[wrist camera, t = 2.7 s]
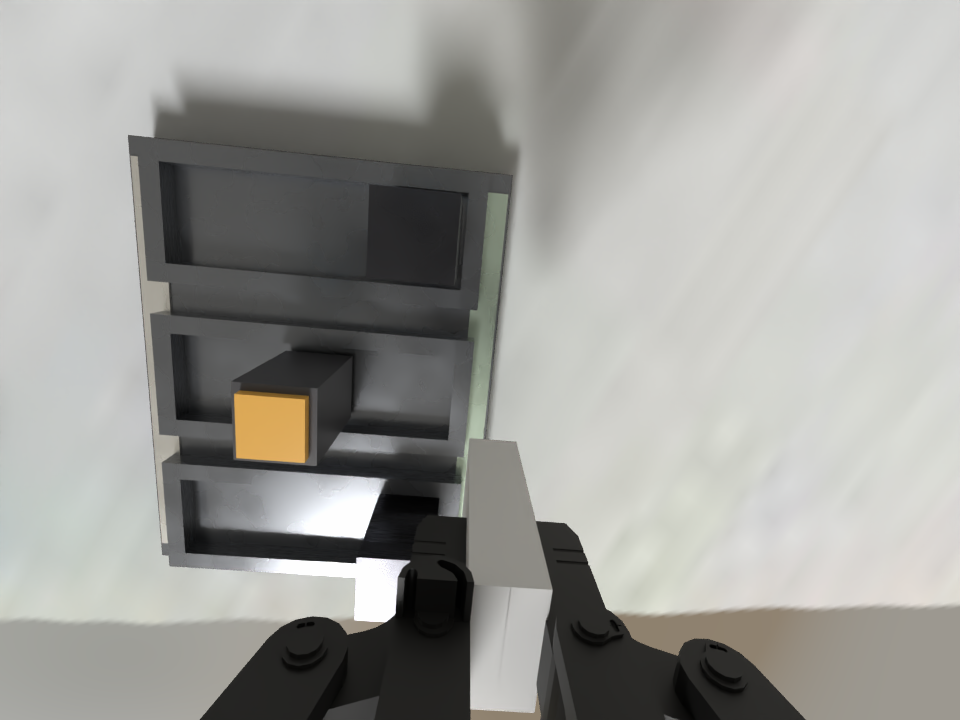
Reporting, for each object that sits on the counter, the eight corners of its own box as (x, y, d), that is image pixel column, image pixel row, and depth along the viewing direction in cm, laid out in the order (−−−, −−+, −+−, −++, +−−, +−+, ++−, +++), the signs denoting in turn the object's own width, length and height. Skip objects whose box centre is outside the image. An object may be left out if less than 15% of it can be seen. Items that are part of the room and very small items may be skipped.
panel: (152, 143, 20) (8, 95, 14) (509, 180, 21) (527, 150, 15) (180, 537, 25) (82, 635, 19) (470, 555, 26) (471, 656, 19)
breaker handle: (286, 350, 21) (224, 384, 15) (352, 356, 21) (313, 391, 16) (286, 412, 21) (228, 465, 16) (350, 417, 22) (312, 471, 16)
